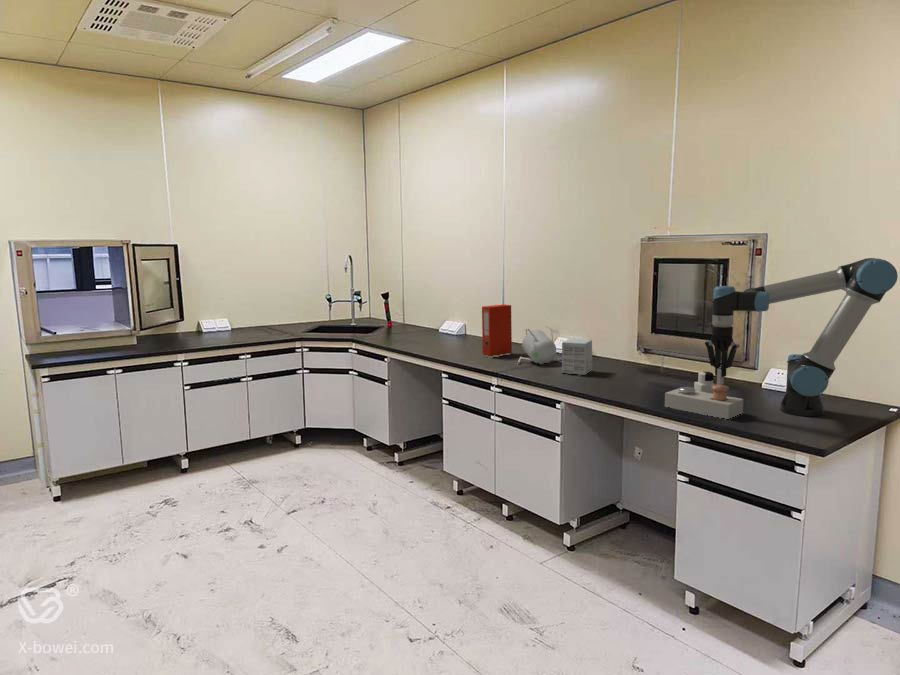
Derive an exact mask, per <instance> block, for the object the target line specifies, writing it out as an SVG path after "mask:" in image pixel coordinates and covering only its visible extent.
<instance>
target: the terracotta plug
mask: <svg viewBox="0 0 900 675" xmlns="http://www.w3.org/2000/svg"><path fill="white" fill-rule="evenodd" d="M711 389H712V390H713V400H717V401H722V402H724V401H726V400H727V396H728V391H729V390H730V386H727V385H724V384H722V385H717V384H716V385H713V386H711Z"/></svg>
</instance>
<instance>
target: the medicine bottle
mask: <svg viewBox="0 0 900 675" xmlns="http://www.w3.org/2000/svg"><path fill="white" fill-rule="evenodd" d="M714 375H715V373H713V372H711V371H700V372H698V377H697V378H698V380H697V381H694V383H693V385H694V386H693V388H695V391H700V392H706V393H712V394H713V390H712V389H711V386H713V385H717V383H714Z"/></svg>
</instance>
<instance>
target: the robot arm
mask: <svg viewBox="0 0 900 675" xmlns="http://www.w3.org/2000/svg"><path fill="white" fill-rule="evenodd" d="M898 277H899V276H898V270H897V269H896V267H895V266H894V265H893V264H892V263H891V262H889V261H887V260H886V259H884V258H883V259H882V258H875V257H868V258H863V259H860V260H858V261H854V262H850V263H848V264H845V265H840V266H838V267H837V268H836V269H835V270H829V271H825V272H820V273H816V274H812V275H808V276H807V275H806V276H802V277H798V278H794V279H789V280H785V281H780V282H775V283H772V284H767V285H764V286H758V287H750V288H747V289H745V290H743V291H737V290H736V289H735V287H734V286H730V285H720V286H715V287H714V288H713V293H712V294H713V296H712V316H711V317H712V318H711V319H712V320H711V322H712V323H711V324H712V326H711V337H710V340H707V341H705V342H704V345H705V347H706V349H707V354H708V359H709V364H710V366H711V367H714V369H715V370H714V375H715V377H716V385H724V383H725V377H727V369H730V368H732V366H733V363H734V359H735V356H736V352H737V350H738V349H739V348H740V344H738V343H736V342H734V338H733V333H734V327H733V325H734V316H735V315H734V312H735V311H736V312H767V311H768V310H769V309H770V308H769V307H770V305H771V304H776V303H780V302H786V301H790V300H795V299H796V300H797V299H799V298H806V297H809V296H816V295H820V294H825V293H828V292H835V291H839V290H840V291H841V290H842V291H844V292H845V296H844V297H843V299H842V300H841V302H840V304H839V305H838V306H837V309H835V311H834V312H833V314H832V316H831V318H830V319H829V321H828V322H827V324H826V325H825V327H824V328H823V330H822V332H821V333H820V334H819V337H818V338H817V340H816V341H815V343H814V344H813V346H812V347H811V349H810V350H809V351H808V352H804V353H802V354H800V353H799V354H794V353H793V354H789V355H788V356H787V357H788V358H787V361H786V363H787V366H786V367H787V371H786V387H785V393H784V395H783V397H782V400H781V402H780V404H779V405H780V406H779V407H780V408H779V409H780V411H781V412H783V413H786V414H789V415H793V416H800V417H801V416H802V417H819V416H820V417H821V416H823V415H824V414H825V406H824V402H823V400H822V395H821V394H822V393H824V392H825V391H826V389H827V388H828V385H829V381H830V378H831V377H832V375H833V373H835V371H836V366H835V362H836V360H837V359H838V358H839V356H840V355H841V353H842V351H843V350H844V348H845V346H846V345H847V344H848V342H849V340H850V339H851V337H852V336H853V334H854V333H855V331H856V330H857V329H858V326H859V325H860V324H861V322H862V321H863V319H864V318H865V316H866V314H867V313H868V311H869V310H870V308H871V307H872V306H873V305H875V304H879V303H880V302H881V301H882V299H883V298H884V296H885V294H886V293H887V292H889V291H891V290H892V289H893V287H895V285H896V284H897V281H898ZM729 349H730V350H729ZM728 352H729V353H728Z"/></svg>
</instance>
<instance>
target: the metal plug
mask: <svg viewBox="0 0 900 675" xmlns="http://www.w3.org/2000/svg"><path fill="white" fill-rule="evenodd" d="M678 389H679V391H680V392H681V394H685V395H693V394H694V392H695V388H694V387H690V386H680V387H679V388H678Z"/></svg>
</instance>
